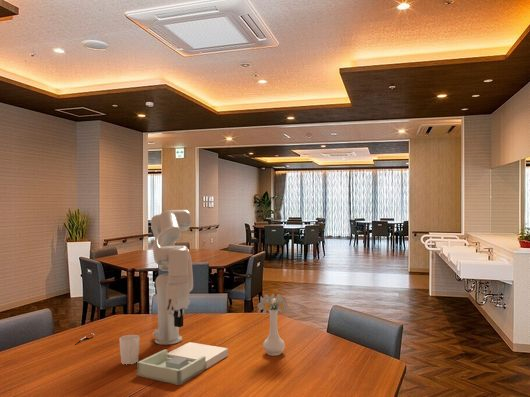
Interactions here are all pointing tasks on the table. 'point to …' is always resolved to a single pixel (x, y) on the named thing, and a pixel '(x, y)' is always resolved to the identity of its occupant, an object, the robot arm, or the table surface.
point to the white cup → (129, 349)
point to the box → (169, 369)
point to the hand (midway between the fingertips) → (178, 326)
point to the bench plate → (199, 353)
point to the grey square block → (177, 363)
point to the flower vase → (273, 322)
